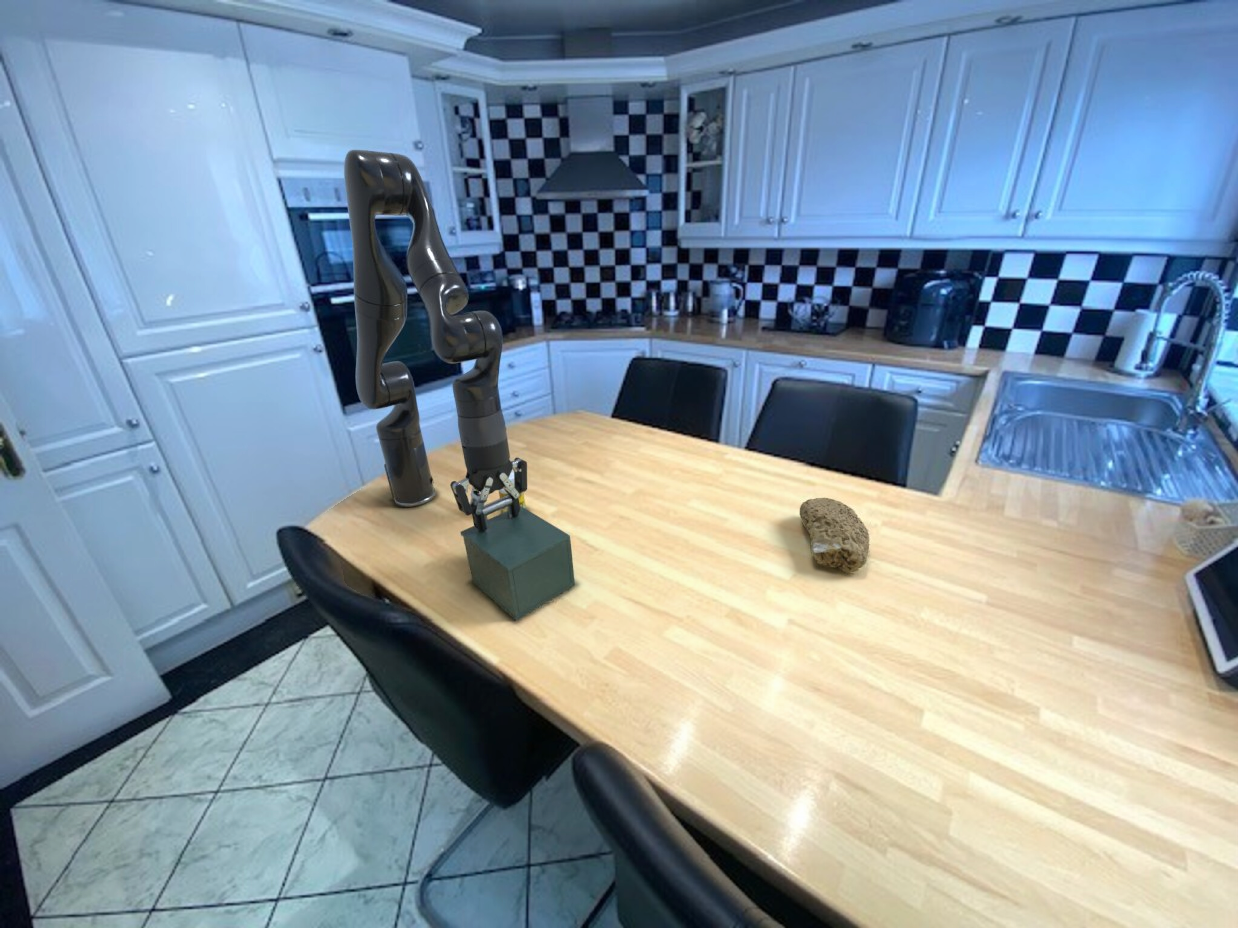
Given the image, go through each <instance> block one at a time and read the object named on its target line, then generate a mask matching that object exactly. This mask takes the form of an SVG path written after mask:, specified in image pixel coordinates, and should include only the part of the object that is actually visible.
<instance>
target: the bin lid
mask: <svg viewBox="0 0 1238 928" xmlns="http://www.w3.org/2000/svg"><path fill="white" fill-rule="evenodd" d="M512 504H513V501H512V498H511V497H510V496H509V495H508V496H505V497H503V498H500V497H499V498H497V499H496V500H493V501H491V502H489V503H486V504H484V506H483V510H482V512H483V513H484V517H485V523H486V528H487V530H486V531H484V532H482V531H480V530H478V529H477V528H476V527H475V526H474V525H473V526H470V527H468V528H466V529H463V530H461V531H460V536H461V537H462V538H463V537H464V538H465V539H466V540H468V541H469V542H470V543H471V544H473V545H474V546H475V547H477V548H478V549H479V550H480V551H482V552H483V553H484V554H485V555H487V556H488V557H489V558H491V559H492V560H493V561H494V562H496V563H497V564H498V565H499V566H501V567H502V568H503V569H505V570H506V571H507V572H509V571H511V570H513V569H515V568H517V567H519V566H521V565H523V564H524V563H526V562H528V561H530V560H532V559H534V558H536V557H538V556H540V555H541V554H543V553H545V552H547V551H549V550H551V549H553V548H555V547H557V546H558V545H560V544H562V543H564V542H566V541H568V540H571V535H570V534H568V533H566V532H565V531H563V530H562V529H560V528H558V527H557V526H555V525H553V524H552V523H550V522H548V521H547V520H545V519H544V518H542V517H540V516H539V515H537V514H535V513H534V512H532V511H530V510H529V509H527V508H526V509H525V508H524V507H522V506H520V512H518V514H519V515H518V516H516V517H514V516H513V515H512V509H511V505H512ZM505 507H506V509H507V511H506V512H504V513H502V512H501V513H500V514H498V515H494V516H493V517H490V518H488V516H489V515H491V514H494V513H495V512H498V511H500V510H502V509H503V508H505ZM464 538H463V539H464Z"/></svg>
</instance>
